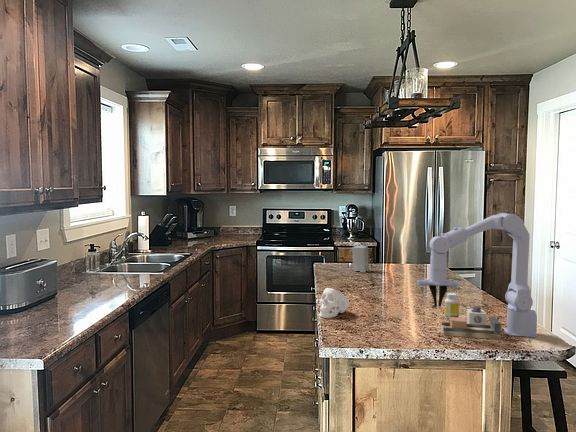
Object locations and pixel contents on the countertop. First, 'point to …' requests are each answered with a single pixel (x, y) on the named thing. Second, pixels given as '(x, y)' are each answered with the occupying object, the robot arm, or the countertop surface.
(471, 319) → the gauge cabinet
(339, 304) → the skull bowl
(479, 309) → the button
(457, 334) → the rail bed
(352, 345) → the countertop surface
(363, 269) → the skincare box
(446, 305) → the supplement bottle
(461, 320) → the block
